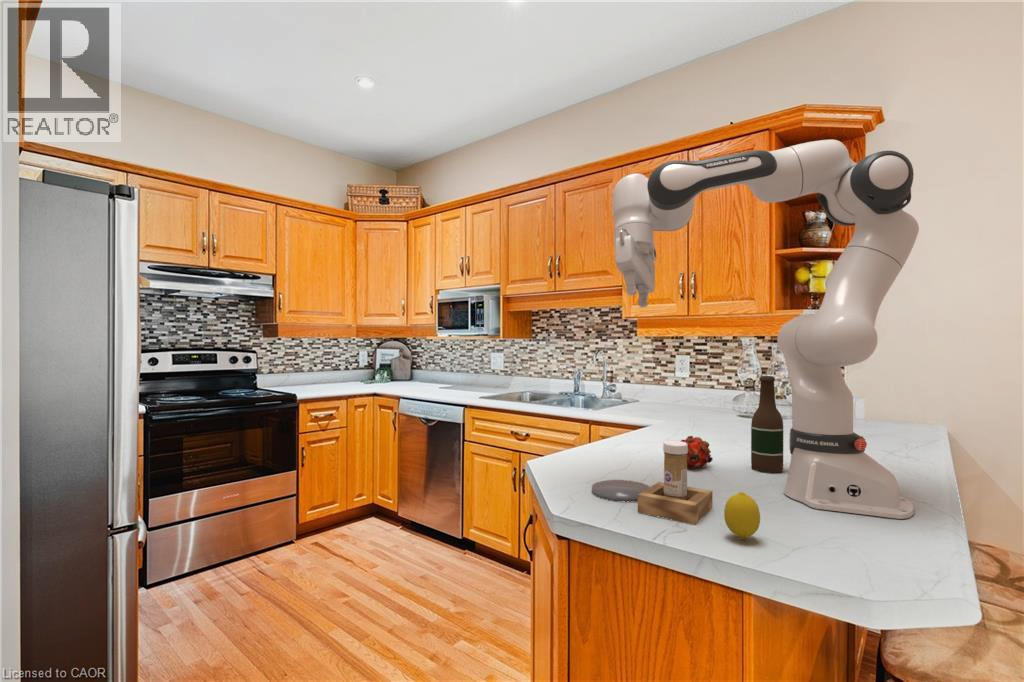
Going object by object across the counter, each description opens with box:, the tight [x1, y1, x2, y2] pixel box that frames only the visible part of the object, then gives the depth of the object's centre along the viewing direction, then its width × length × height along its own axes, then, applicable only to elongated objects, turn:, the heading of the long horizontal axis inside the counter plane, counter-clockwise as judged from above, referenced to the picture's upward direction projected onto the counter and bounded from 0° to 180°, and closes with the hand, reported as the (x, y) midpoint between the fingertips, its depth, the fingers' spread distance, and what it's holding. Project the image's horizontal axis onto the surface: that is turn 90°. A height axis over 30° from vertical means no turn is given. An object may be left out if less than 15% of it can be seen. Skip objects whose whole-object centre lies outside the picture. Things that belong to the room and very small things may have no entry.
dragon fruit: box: [680, 435, 713, 470], centre depth 136 cm, size 8×8×12 cm
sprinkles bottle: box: [662, 440, 688, 501], centre depth 102 cm, size 5×5×14 cm
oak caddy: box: [637, 481, 714, 525], centre depth 102 cm, size 11×11×4 cm
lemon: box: [723, 491, 761, 540], centre depth 87 cm, size 6×6×8 cm
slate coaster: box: [591, 479, 650, 503], centre depth 113 cm, size 13×13×1 cm
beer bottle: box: [750, 375, 784, 475], centre depth 132 cm, size 8×8×24 cm
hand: (637, 300), depth 114 cm, fingers open, 8 cm apart
